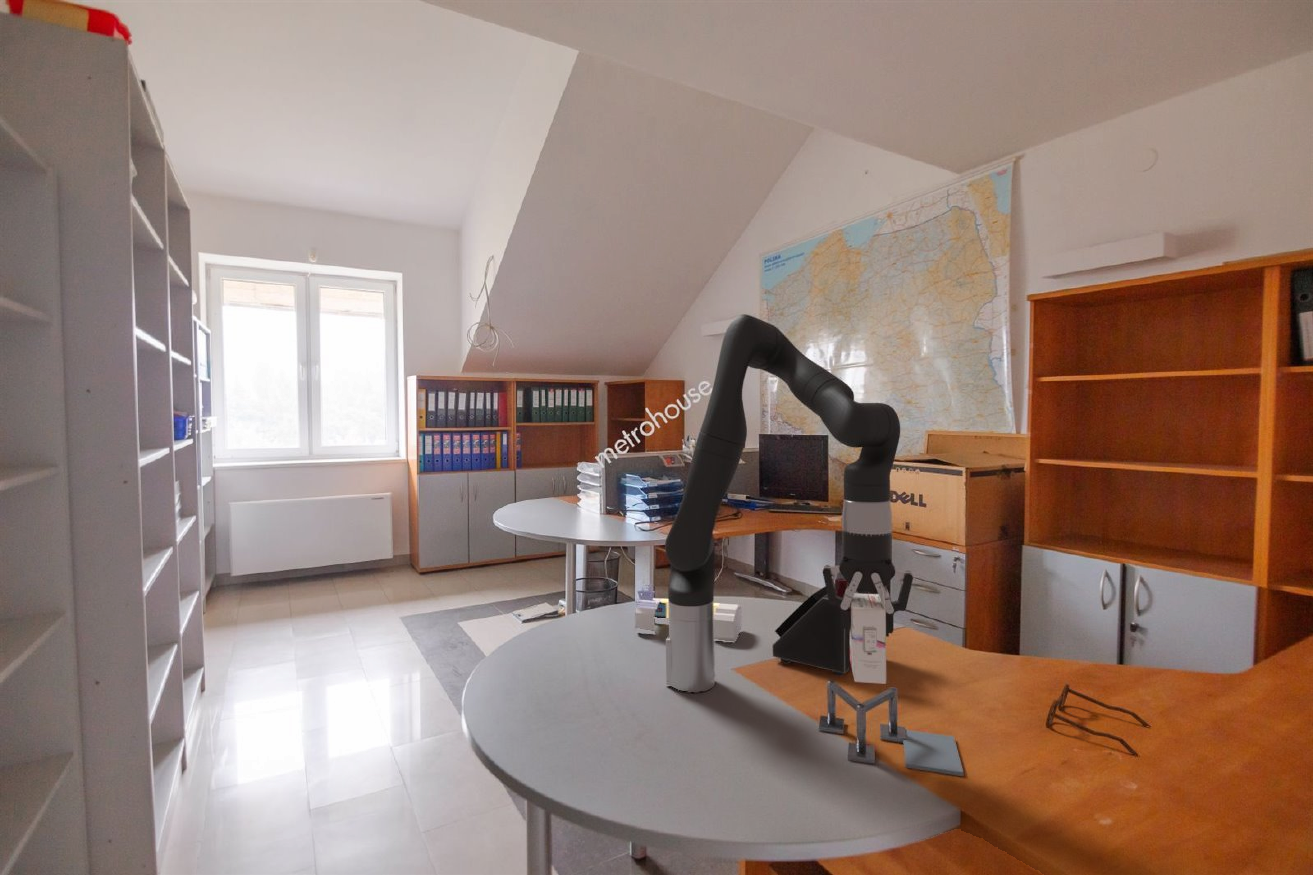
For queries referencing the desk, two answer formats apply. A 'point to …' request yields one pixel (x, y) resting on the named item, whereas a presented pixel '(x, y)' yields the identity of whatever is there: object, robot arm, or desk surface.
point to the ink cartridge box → (868, 638)
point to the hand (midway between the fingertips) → (867, 632)
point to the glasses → (1061, 703)
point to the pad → (932, 753)
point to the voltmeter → (816, 633)
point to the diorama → (649, 607)
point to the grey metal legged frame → (862, 721)
